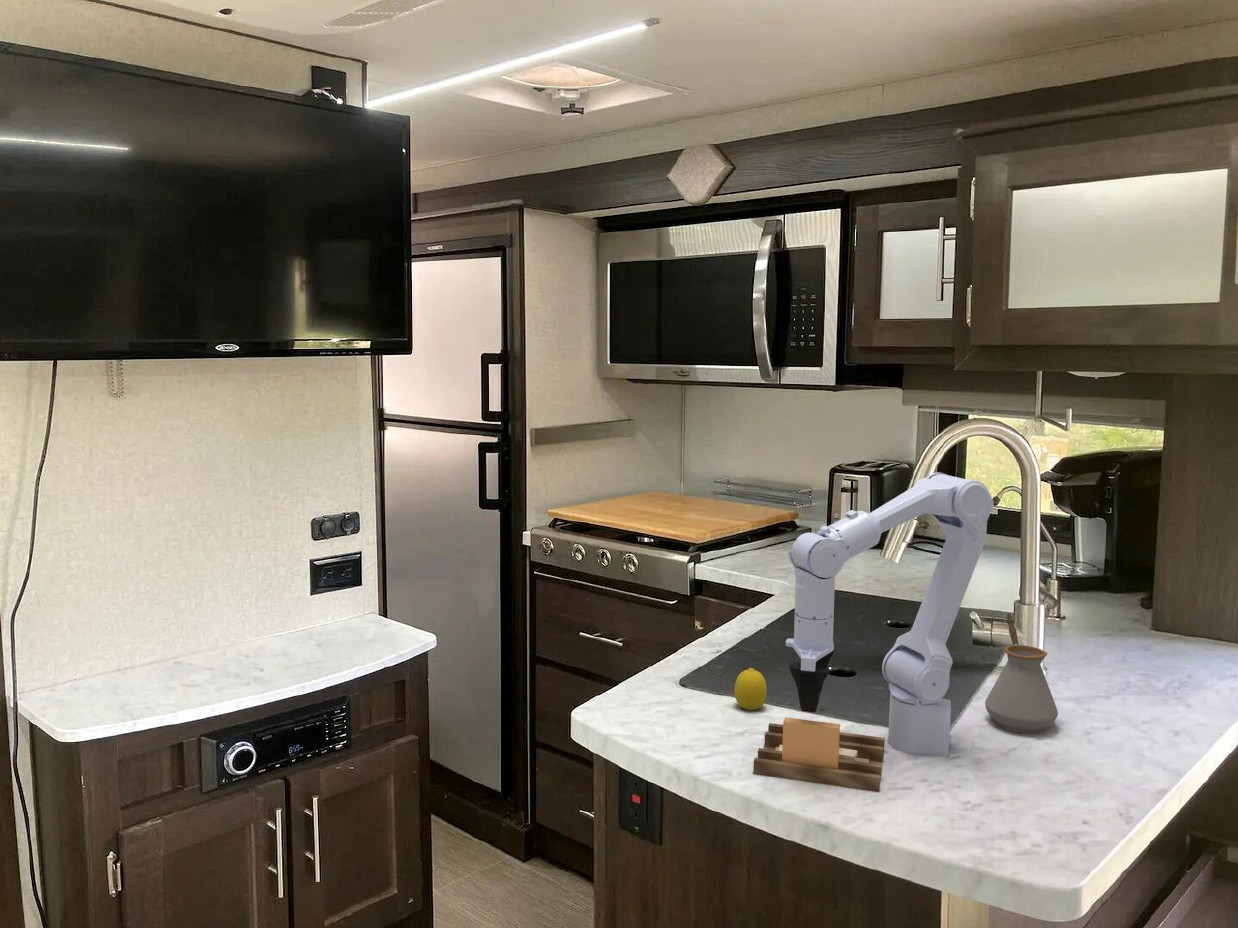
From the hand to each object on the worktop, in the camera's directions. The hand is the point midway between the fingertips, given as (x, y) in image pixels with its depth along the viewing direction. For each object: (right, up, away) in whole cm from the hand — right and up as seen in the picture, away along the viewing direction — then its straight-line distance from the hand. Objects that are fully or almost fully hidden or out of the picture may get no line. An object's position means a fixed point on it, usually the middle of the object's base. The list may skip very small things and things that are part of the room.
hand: (811, 701), depth 149 cm
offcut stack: (+2, -9, +1) cm, 9 cm away
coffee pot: (+40, -8, +23) cm, 47 cm away
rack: (+2, -10, +1) cm, 10 cm away
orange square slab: (-1, -10, -4) cm, 11 cm away
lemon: (-6, -7, +22) cm, 24 cm away
